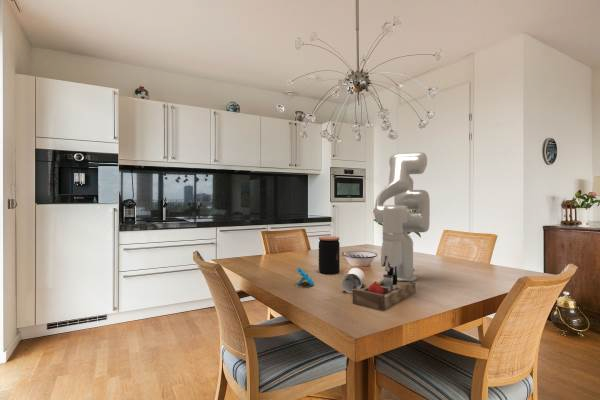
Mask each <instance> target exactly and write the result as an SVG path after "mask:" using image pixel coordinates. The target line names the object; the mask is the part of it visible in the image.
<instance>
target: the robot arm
mask: <svg viewBox="0 0 600 400" xmlns="http://www.w3.org/2000/svg"><path fill="white" fill-rule="evenodd" d="M427 166H428V157H427V154H426V153H425V152H423V151H420V152H402V153H396V154H392V155H391V156H390V157H389V169H390V170H389V176H388V184H387V185H386V186H385V187H383V189H381V191H380V192H379V193H378V195H377V196H376V199H375V205H374V213H373V214H374V219H375V221H376V222H377V223H379V224H382V244H381V252H380V266H381V267H383V268H384V271H385V272H386V274H389V275H393V286H397V285H398V282H414V281H417V278H418V277H417V275H414V272H415V271H416V269H415V268H414V240H413V239H412V237H411V235H409V234H408V233H427V232H428V231H429V229H430V216H431V215H430V211H431V210H430V208H431V207H430V205H431V203H430V202H431V201H430V195H429V192H428V191H427V190H425V189H414V180H413V178H412V177H411V176H410V175H421V174H424V173H425V171H426V168H427ZM391 198H393V199H394V203H393V204H394V205H393V204H392V205H390V204H385V203H386V202H387V200H389V199H391ZM384 204H385V205H384Z"/></svg>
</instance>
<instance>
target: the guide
mask: <svg viewBox="0 0 600 400" xmlns="http://www.w3.org/2000/svg"><path fill="white" fill-rule="evenodd" d="M377 283H378V284H379V285H381V286H384V279H383V280H380V281H377ZM369 286H370V285H368V286H365V287H363V288H362V287H361V289H360V290H359V289H355V288H353V290H352V291H353V293H352V304H354V305H358V306H362V307H365V308H369V309H375V310H379V311H382V312H383V311H384V310H386V309H388V308H390V307H392V306H394V305H395V304H397V303H399V302H401V301H403V300H404V299H406V298H408V297H410V296H412V295H414V294H416V282H414V281H410V282H409V283H407V284H405V285H403V286H401V287H399V288H398V289H396V290H394V291H391V292H389V293H387V294H385V295H384V294H379V293H374V292H369V291H368V288H369Z"/></svg>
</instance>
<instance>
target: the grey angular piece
mask: <svg viewBox="0 0 600 400" xmlns="http://www.w3.org/2000/svg"><path fill="white" fill-rule="evenodd" d="M382 277H383V280H384V286H381V287H382V288H383V290H384V295H385V294H387V293H389V292H391V291H394V290H396V289H398V288H400V287H399V286H397V285H393V275H389V274H387V273H384V274H383V275H382Z"/></svg>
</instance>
